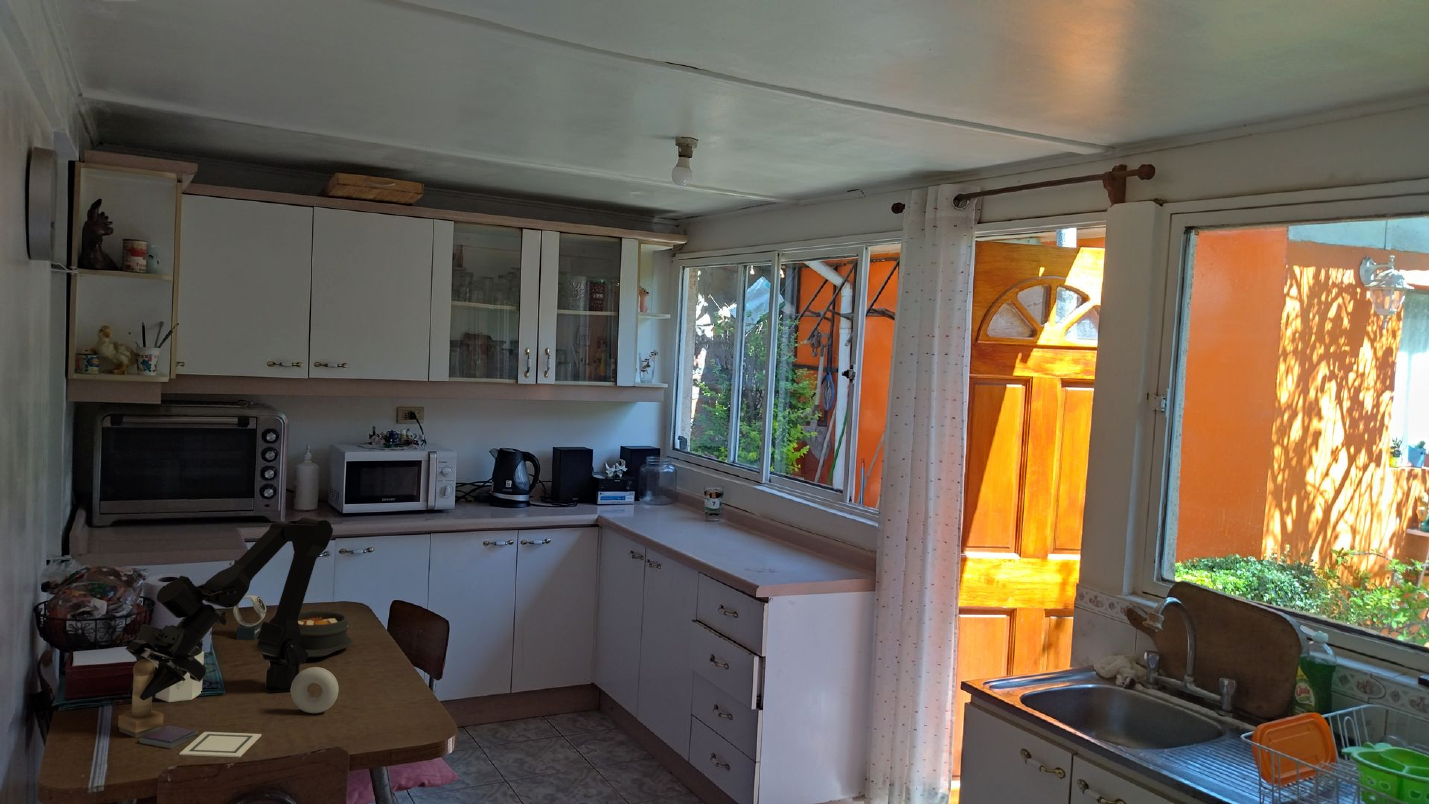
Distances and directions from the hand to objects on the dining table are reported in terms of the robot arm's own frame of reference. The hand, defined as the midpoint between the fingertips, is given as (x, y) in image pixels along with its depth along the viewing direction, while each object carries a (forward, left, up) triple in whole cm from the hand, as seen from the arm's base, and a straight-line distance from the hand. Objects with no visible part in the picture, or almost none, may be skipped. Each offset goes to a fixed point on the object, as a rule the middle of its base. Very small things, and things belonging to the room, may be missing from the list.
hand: (135, 697), depth 193 cm
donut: (-33, -3, -7) cm, 34 cm away
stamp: (-1, -1, -7) cm, 7 cm away
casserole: (-37, -50, -7) cm, 62 cm away
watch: (-22, -65, -7) cm, 69 cm away
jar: (-7, -21, -7) cm, 23 cm away
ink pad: (-6, +5, -7) cm, 11 cm away
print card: (-16, +11, -7) cm, 20 cm away
